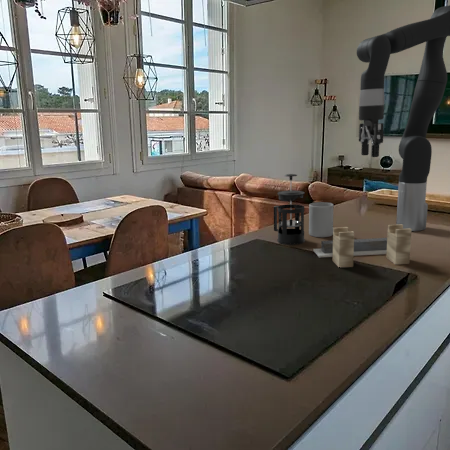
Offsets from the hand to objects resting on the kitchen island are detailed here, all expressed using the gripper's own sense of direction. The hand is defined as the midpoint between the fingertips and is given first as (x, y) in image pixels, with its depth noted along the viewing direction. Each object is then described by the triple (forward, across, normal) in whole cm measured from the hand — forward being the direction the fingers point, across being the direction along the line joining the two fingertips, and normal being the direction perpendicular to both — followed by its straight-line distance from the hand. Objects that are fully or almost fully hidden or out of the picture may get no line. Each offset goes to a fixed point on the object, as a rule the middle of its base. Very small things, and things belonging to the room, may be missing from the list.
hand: (369, 156), depth 138 cm
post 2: (+28, -24, 0) cm, 37 cm away
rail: (+27, -14, +8) cm, 32 cm away
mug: (+28, +10, +13) cm, 33 cm away
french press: (+28, +2, +26) cm, 38 cm away
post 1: (+28, -24, +16) cm, 40 cm away
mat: (+28, -14, +8) cm, 32 cm away
